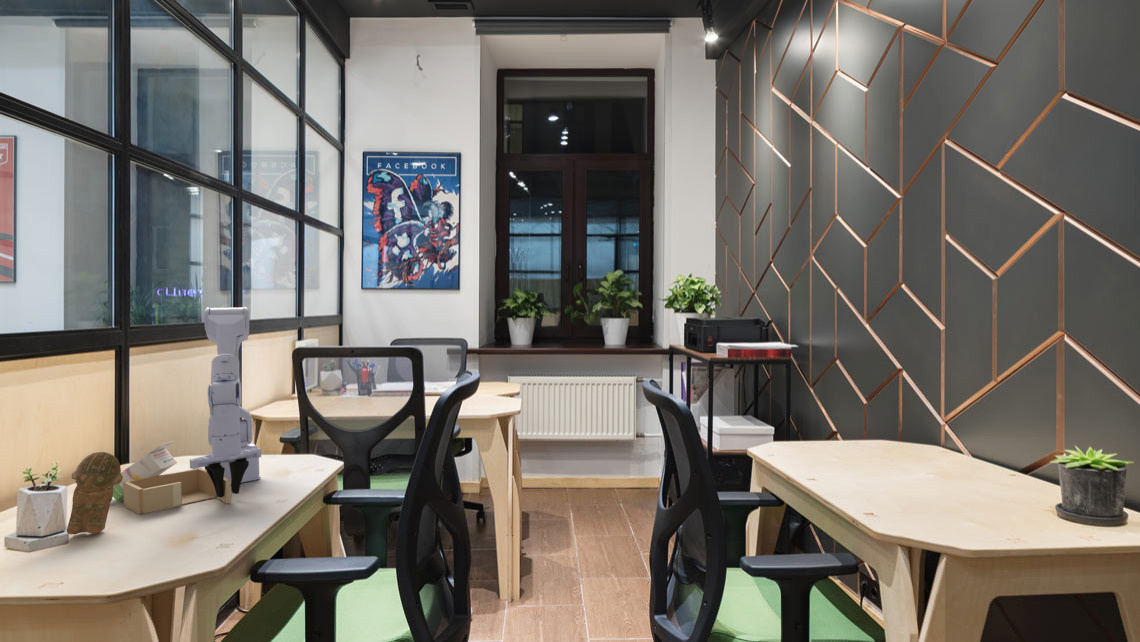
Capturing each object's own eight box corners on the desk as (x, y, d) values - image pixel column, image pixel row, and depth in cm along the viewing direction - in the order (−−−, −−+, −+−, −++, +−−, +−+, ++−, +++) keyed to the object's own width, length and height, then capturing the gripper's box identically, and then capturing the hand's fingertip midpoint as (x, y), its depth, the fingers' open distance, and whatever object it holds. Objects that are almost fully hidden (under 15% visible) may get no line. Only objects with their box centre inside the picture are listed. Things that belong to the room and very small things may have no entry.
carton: (201, 489, 157) (200, 467, 157) (219, 497, 150) (218, 474, 150) (123, 505, 145) (123, 482, 145) (139, 514, 138) (138, 489, 138)
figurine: (65, 542, 122) (63, 462, 121) (74, 529, 129) (72, 454, 129) (119, 534, 126) (117, 456, 125) (126, 522, 133) (123, 449, 133)
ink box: (116, 502, 148) (172, 461, 149) (102, 485, 147) (158, 444, 149) (136, 493, 156) (189, 454, 158) (123, 477, 156) (176, 438, 157)
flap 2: (217, 497, 149) (216, 475, 149) (221, 496, 150) (220, 474, 150) (226, 503, 144) (225, 480, 144) (231, 502, 144) (230, 480, 144)
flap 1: (180, 504, 144) (179, 482, 144) (182, 505, 143) (181, 482, 143) (143, 512, 138) (142, 489, 138) (144, 513, 138) (143, 489, 138)
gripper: (197, 441, 138) (199, 505, 138) (266, 431, 149) (268, 490, 149) (185, 438, 142) (187, 499, 143) (253, 428, 153) (254, 485, 154)
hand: (227, 494), depth 146 cm, fingers open, 3 cm apart
